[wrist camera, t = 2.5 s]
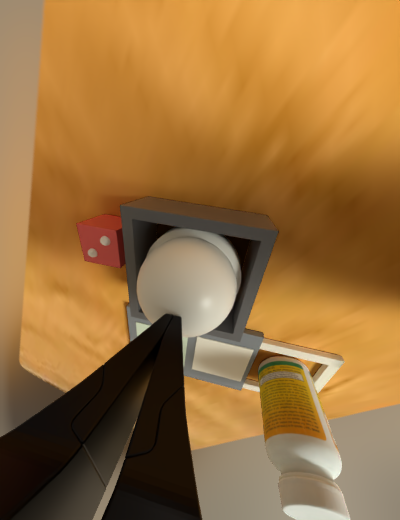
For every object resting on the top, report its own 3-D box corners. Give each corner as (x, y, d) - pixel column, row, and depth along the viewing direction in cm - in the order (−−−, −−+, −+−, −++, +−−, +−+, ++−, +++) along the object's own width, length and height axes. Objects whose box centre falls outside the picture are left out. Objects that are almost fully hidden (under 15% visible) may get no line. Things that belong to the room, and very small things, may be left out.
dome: (250, 229, 12) (262, 277, 7) (230, 303, 16) (227, 377, 10) (156, 213, 13) (97, 245, 7) (156, 287, 16) (115, 348, 11)
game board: (345, 351, 17) (349, 358, 16) (303, 401, 22) (305, 408, 21) (129, 302, 19) (125, 306, 18) (134, 357, 24) (132, 362, 23)
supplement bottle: (319, 373, 19) (386, 537, 10) (278, 388, 21) (306, 530, 13) (285, 346, 18) (329, 501, 10) (247, 365, 20) (255, 502, 12)
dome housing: (267, 215, 12) (278, 231, 9) (239, 308, 17) (240, 342, 13) (100, 188, 14) (58, 194, 10) (114, 281, 18) (86, 306, 15)
